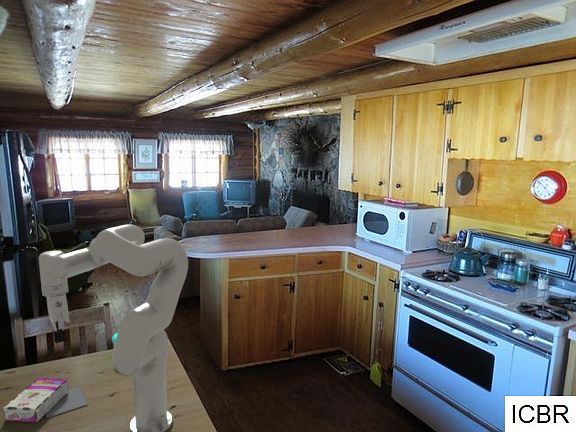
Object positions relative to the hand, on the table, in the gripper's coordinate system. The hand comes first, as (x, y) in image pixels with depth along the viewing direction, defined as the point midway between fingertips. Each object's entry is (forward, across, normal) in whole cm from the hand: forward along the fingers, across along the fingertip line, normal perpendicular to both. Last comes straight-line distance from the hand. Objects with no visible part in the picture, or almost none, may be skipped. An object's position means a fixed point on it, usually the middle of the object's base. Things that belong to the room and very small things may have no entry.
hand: (60, 341), depth 139 cm
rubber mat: (+21, -1, +1) cm, 21 cm away
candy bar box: (+18, +6, +2) cm, 19 cm away
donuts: (+21, +18, -25) cm, 38 cm away
